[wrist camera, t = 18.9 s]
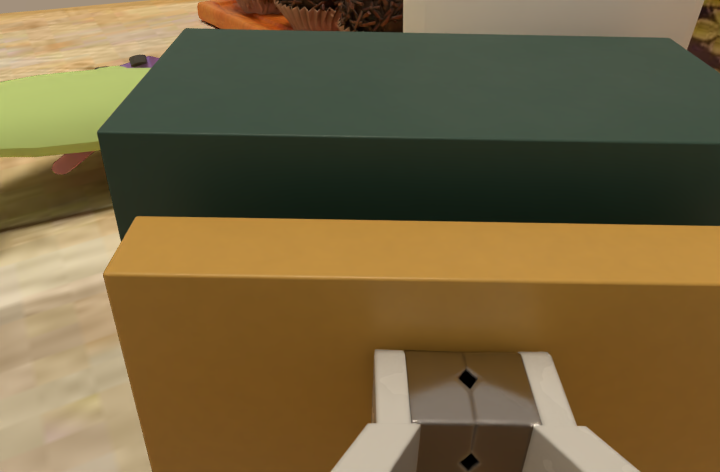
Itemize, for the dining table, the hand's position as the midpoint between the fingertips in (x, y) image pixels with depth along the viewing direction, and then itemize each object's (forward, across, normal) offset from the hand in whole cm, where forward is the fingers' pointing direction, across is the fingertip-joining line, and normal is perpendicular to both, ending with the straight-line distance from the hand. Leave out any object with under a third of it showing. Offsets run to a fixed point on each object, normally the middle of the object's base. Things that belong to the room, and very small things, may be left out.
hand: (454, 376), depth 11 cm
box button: (+1, 0, -3) cm, 3 cm away
